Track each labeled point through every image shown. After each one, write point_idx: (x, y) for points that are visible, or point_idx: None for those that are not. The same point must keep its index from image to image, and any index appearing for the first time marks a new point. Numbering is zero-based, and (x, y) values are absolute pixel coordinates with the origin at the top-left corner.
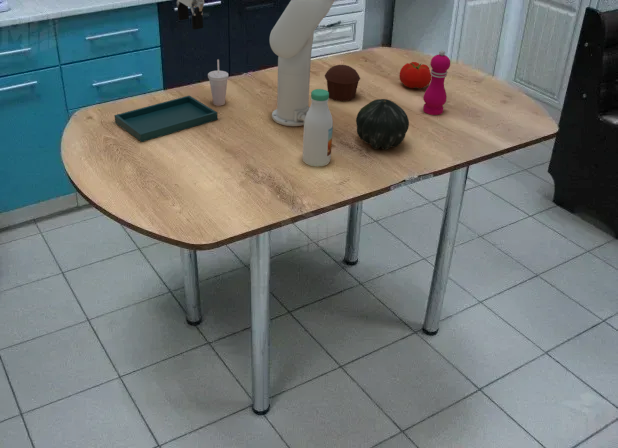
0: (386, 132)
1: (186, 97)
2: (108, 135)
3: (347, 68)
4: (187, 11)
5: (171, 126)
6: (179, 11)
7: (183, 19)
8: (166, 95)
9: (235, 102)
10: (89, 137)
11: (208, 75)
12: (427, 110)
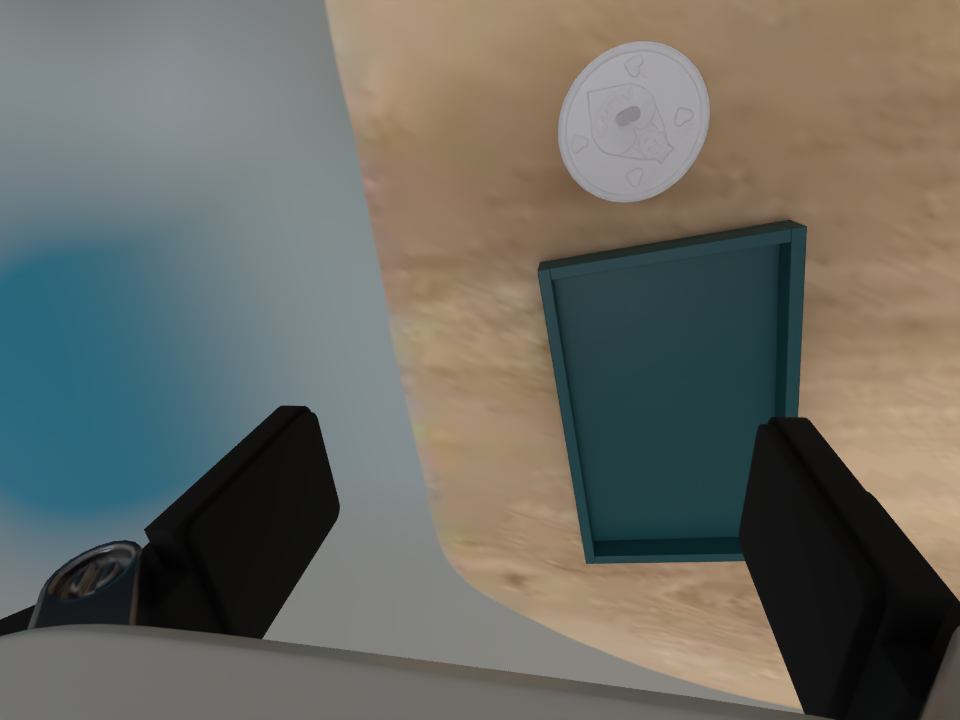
0: None
1: (552, 290)
2: (665, 585)
3: None
4: (255, 482)
5: None
6: (282, 598)
7: (329, 473)
8: (429, 321)
9: (649, 32)
10: (647, 623)
11: (617, 201)
12: None
